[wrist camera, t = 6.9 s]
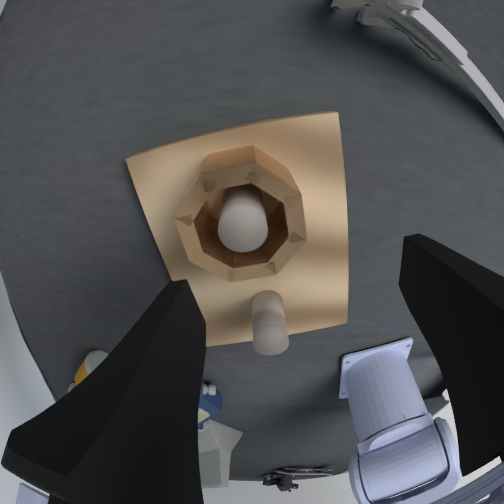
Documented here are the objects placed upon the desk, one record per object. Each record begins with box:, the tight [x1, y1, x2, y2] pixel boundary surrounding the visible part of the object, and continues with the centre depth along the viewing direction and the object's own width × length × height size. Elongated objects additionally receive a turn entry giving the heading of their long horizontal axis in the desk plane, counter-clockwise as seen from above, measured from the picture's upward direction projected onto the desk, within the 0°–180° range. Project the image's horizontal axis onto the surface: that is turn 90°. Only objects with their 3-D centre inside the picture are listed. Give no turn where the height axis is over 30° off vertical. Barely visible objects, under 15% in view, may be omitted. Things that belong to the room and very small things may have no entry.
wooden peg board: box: [126, 111, 348, 356], centre depth 17 cm, size 16×12×5 cm
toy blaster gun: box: [67, 350, 222, 432], centre depth 28 cm, size 21×4×15 cm
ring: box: [174, 145, 307, 282], centre depth 14 cm, size 6×6×4 cm
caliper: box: [330, 0, 504, 132], centre depth 10 cm, size 20×1×6 cm, turn 72°
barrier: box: [198, 419, 242, 489], centre depth 36 cm, size 28×7×10 cm, turn 131°
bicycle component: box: [263, 468, 332, 492], centre depth 52 cm, size 12×7×15 cm
